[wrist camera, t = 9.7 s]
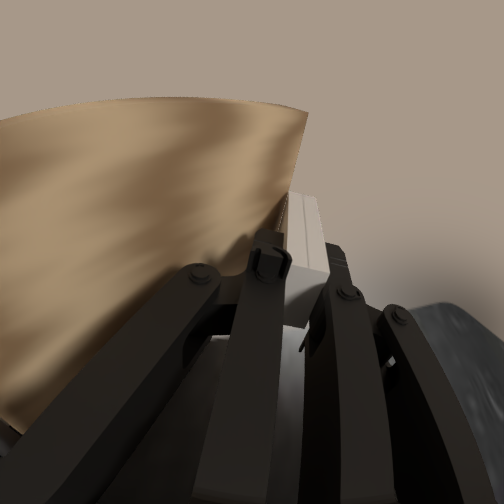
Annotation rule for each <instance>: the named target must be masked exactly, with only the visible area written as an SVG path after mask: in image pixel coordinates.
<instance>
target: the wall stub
mask: <svg viewBox="0 0 504 504" xmlns="http://www.w3.org/2000/svg"><path fill="white" fill-rule="evenodd" d="M9 426H10V425H9V424H8V423H7V422H6V421H5V420H3V419H2V418H1V417H0V455H1V456H3V457H4V456H6V455H7V454H8V452H9V451H10V450H11V449H12V448H13V446H14V445H15V444H16V443H17V441H18V440H19V439H20V438H21V436H20V435H19V434H17V433H16V432H15V431H13V430H12V429H11V428H10V427H9Z"/></svg>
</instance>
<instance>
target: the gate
mask: <svg viewBox="0 0 504 504" xmlns="http://www.w3.org/2000/svg"><path fill="white" fill-rule="evenodd" d="M307 117H308V112H305V111H301V110H298V109H294V108H291V107H287V106H282V105H277V104H270V103H262V102H254V101H244V100H232V99H217V98H198V97H150V98H129V99H116V100H105V101H96V102H87V103H80V104H74V105H67V106H61V107H55V108H50V109H45V110H40V111H36V112H31V113H27V114H23V115H19V116H15V117H11V118H8V119H4V120H0V417H1V418H2V419H3V420H5V421H6V422H7V423H8V424H9V425H11V426H12V427H13V428H14V429H16V430H17V431H18V432H19V433H21V434H22V435H23V434H24V433H25V432H26V431H27V430H28V428H29V427H30V426H31V425H32V424H33V423H34V421H35V420H36V419H37V418H38V417H39V416H40V415H41V413H42V412H43V411H44V410H45V409H46V408H47V407H48V405H49V404H50V403H51V402H52V401H53V400H54V399H55V398H56V397H57V395H58V394H59V393H60V392H61V391H62V390H63V389H64V388H65V387H66V386H67V384H68V383H69V382H70V381H71V380H72V379H73V378H74V377H75V376H76V375H77V374H78V373H79V371H80V370H81V369H82V368H83V367H84V366H85V365H86V364H87V363H88V362H89V361H90V360H91V359H92V358H93V357H94V356H95V354H96V353H97V352H98V351H99V350H100V349H101V348H102V347H103V346H104V345H105V344H106V343H107V342H108V341H109V340H110V339H111V338H112V337H113V336H114V335H115V334H116V333H117V332H118V331H119V330H120V329H121V328H122V327H123V326H124V325H125V324H126V322H127V321H128V320H129V319H130V318H131V317H132V316H133V315H134V314H135V313H136V312H137V311H138V310H139V309H140V308H141V307H142V306H143V305H144V304H145V303H146V302H147V301H148V300H150V299H151V298H152V297H153V296H154V295H155V294H156V293H157V292H158V291H159V290H160V289H161V288H162V287H163V286H164V285H165V284H166V283H167V282H168V281H169V280H170V279H171V278H172V277H173V276H174V275H175V274H176V273H177V272H178V271H179V270H180V269H181V268H183V267H184V266H186V265H188V264H192V263H204V264H208V265H211V266H212V267H214V268H216V269H217V270H218V271H219V273H220V274H221V276H235V275H238V274H240V273H242V272H244V271H245V270H246V268H247V263H248V259H249V254H250V250H251V249H252V245H253V241H254V237H255V233H256V232H257V231H258V230H260V229H261V228H264V229H268V230H273V231H277V232H278V228H279V224H280V221H281V217H282V213H283V210H284V206H285V202H286V198H287V195H288V191H289V187H290V183H291V179H292V176H293V172H294V168H295V164H296V160H297V156H298V152H299V149H300V145H301V140H302V136H303V133H304V129H305V125H306V121H307Z"/></svg>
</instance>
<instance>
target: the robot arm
mask: <svg viewBox="0 0 504 504" xmlns="http://www.w3.org/2000/svg"><path fill="white" fill-rule="evenodd" d="M308 321H309V330H308V332H307V334H306V336H305V338H304V340H303V342H302V344H301V346H300V348H299V352H302V350H303V348H304V347H305V377H304V413H303V435H302V453H301V468H300V481H299V492H298V503H297V504H498V503H497V502H496V500H495V497H494V493H493V490H492V486H491V483H490V480H489V477H488V474H487V471H486V468H485V465H484V462H483V459H482V456H481V453H480V451H479V448H478V446H477V443H476V440H475V438H474V435H473V433H472V430H471V428H470V426H469V423H468V421H467V419H466V416H465V414H464V412H463V410H462V408H461V405H460V403H459V401H458V399H457V397H456V395H455V393H454V391H453V389H452V387H451V385H450V383H449V381H448V379H447V377H446V375H445V373H444V371H443V369H442V367H441V365H440V363H439V361H438V360H437V358H436V356H435V354H434V352H433V350H432V349H431V347H430V345H429V343H428V342H427V340H426V338H425V336H424V335H423V333H422V331H421V330H420V328H419V326H418V324H417V323H416V321H415V319H414V318H413V316H412V315H411V314H410V313H409V312H408V311H407V310H406V309H405V308H403V307H401V306H398V305H395V304H390V305H387V306H386V307H385V308H384V310H383V311H380V310H378V309H375V308H373V307H371V306H369V305H367V304H366V303H365V299H364V296H363V294H362V293H361V291H360V290H359V289H358V288H357V287H355V286H353V285H352V281H351V277H350V273H349V269H348V265H347V262H346V257H345V253H344V252H343V251H342V250H341V248H340V247H339V246H337V245H334V244H330V243H326V242H325V241H324V235H323V230H322V225H321V220H320V215H319V210H318V205H317V200H316V197H312V196H308V195H304V194H300V193H296V192H292V191H289V192H288V196H287V200H286V204H285V207H284V211H283V215H282V218H281V223H280V226H279V230H278V232H277V231H273V230H268V229H264V228H261V229H260V230H258V231H257V232H256V233H255V237H254V241H253V245H252V249H251V250H250V254H249V259H248V263H247V268H246V270H245V271H244V272H242V273H240V274H238V275H235V276H221V274H220V273H219V271H218V270H217V269H216V268H214V267H212V266H211V265H208V264H204V263H192V264H188V265H186V266H184V267H183V268H181V269H180V270H179V271H178V272H177V273H176V274H175V275H174V276H173V277H172V278H171V279H170V280H169V281H168V282H167V283H166V284H165V285H164V286H163V287H162V288H161V289H160V290H159V291H158V292H157V293H156V294H155V295H154V296H153V297H152V298H151V299H150V300H148V301H147V302H146V303H145V304H144V305H143V306H142V307H141V308H140V309H139V310H138V311H137V312H136V313H135V314H134V315H133V316H132V317H131V318H130V319H129V320H128V321H127V322H126V324H125V325H124V326H123V327H122V328H121V329H120V330H119V331H118V332H117V333H116V334H115V335H114V336H113V337H112V338H111V339H110V340H109V341H108V342H107V343H106V344H105V345H104V346H103V347H102V348H101V349H100V350H99V351H98V352H97V353H96V354H95V356H94V357H93V358H92V359H91V360H90V361H89V362H88V363H87V364H86V365H85V366H84V367H83V368H82V369H81V370H80V371H79V373H78V374H77V375H76V376H75V377H74V378H73V379H72V380H71V381H70V382H69V383H68V384H67V386H66V387H65V388H64V389H63V390H62V391H61V392H60V393H59V394H58V395H57V397H56V398H55V399H54V400H53V401H52V402H51V403H50V404H49V405H48V407H47V408H46V409H45V410H44V411H43V412H42V413H41V415H40V416H39V417H38V418H37V419H36V420H35V421H34V423H33V424H32V425H31V426H30V427H29V428H28V430H27V431H26V432H25V433H24V434H23V436H22V437H21V438H20V439H19V440H18V441H17V443H16V444H15V445H14V446H13V448H12V449H11V450H10V451H9V452H8V454H7V455H6V456H4V457H2V458H0V504H95V503H96V502H97V501H98V500H99V498H100V497H101V496H102V494H103V493H104V492H105V490H106V489H107V488H108V486H109V485H110V483H111V482H112V481H113V479H114V478H115V476H116V475H117V474H118V472H119V471H120V469H121V468H122V467H123V465H124V464H125V462H126V461H127V460H128V458H129V457H130V455H131V454H132V453H133V451H134V450H135V448H136V447H137V446H138V444H139V443H140V441H141V440H142V438H143V437H144V436H145V434H146V433H147V431H148V430H149V428H150V427H151V426H152V424H153V423H154V421H155V420H156V418H157V417H158V416H159V414H160V413H161V411H162V410H163V408H164V407H165V405H166V404H167V403H168V401H169V400H170V398H171V397H172V395H173V394H174V392H175V391H176V390H177V388H178V387H179V385H180V384H181V382H182V381H183V379H184V378H185V376H186V375H187V374H188V372H189V371H190V369H191V368H192V366H193V365H194V363H195V362H196V360H197V359H198V357H199V356H200V354H201V353H202V352H203V350H204V349H205V347H206V346H207V344H208V343H209V341H210V340H211V338H212V335H230V338H229V342H228V346H227V350H226V354H225V359H224V363H223V367H222V371H221V375H220V379H219V383H218V388H217V392H216V396H215V400H214V404H213V408H212V412H211V416H210V421H209V425H208V429H207V433H206V437H205V441H204V446H203V450H202V454H201V458H200V462H199V466H198V471H197V475H196V479H195V483H194V487H193V491H192V495H191V499H190V503H189V504H266V496H267V488H268V480H269V472H270V464H271V456H272V447H273V438H274V428H275V418H276V408H277V397H278V386H279V374H280V362H281V349H282V334H283V325H287V326H292V327H297V328H303V329H305V327H306V325H307V323H308ZM392 356H393V357H394V359H395V361H396V363H395V364H394V365H393V366H391V365H390V363H389V361H388V360H389V359H390V358H391V357H392ZM394 488H395V491H396V495H397V499H398V502H397V500H396V498H395V494H394Z"/></svg>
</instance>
